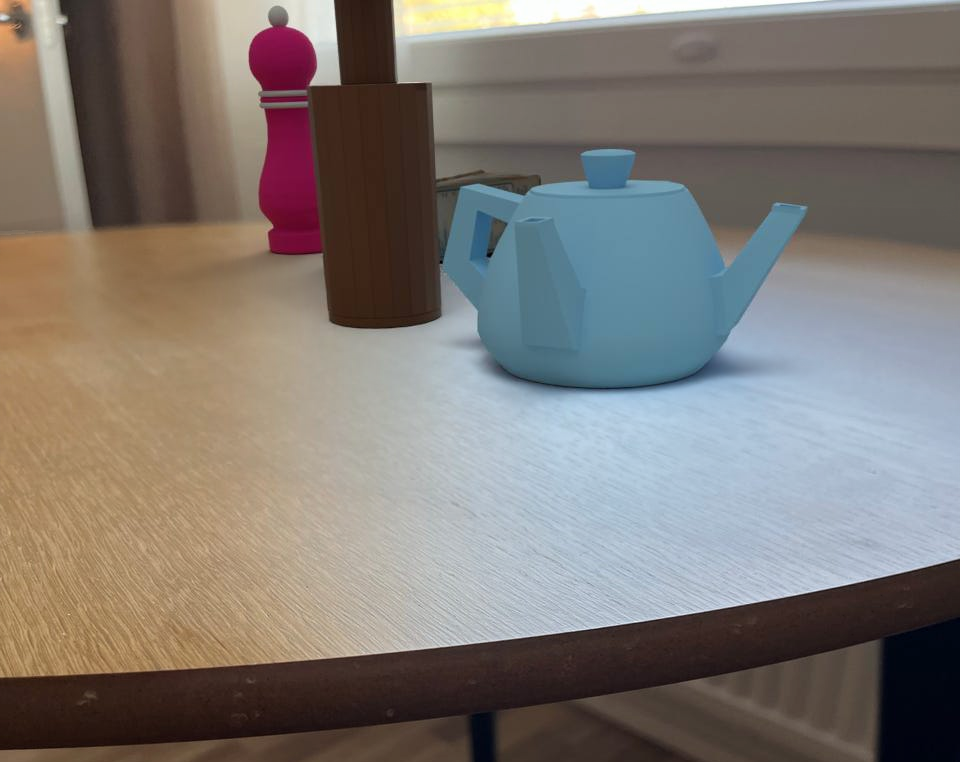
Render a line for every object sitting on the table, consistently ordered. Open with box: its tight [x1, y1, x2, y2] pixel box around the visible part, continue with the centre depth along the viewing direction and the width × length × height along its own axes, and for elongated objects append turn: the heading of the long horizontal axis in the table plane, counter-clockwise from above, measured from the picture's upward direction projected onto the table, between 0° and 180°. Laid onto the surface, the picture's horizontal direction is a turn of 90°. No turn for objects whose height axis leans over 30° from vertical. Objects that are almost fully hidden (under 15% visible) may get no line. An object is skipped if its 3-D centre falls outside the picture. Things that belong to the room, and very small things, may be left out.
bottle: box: [306, 0, 442, 329], centre depth 66 cm, size 8×8×19 cm
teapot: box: [441, 148, 809, 389], centre depth 55 cm, size 15×15×11 cm
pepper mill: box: [248, 5, 322, 255], centre depth 94 cm, size 7×7×20 cm
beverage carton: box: [436, 169, 542, 262], centre depth 91 cm, size 8×19×7 cm, turn 125°
